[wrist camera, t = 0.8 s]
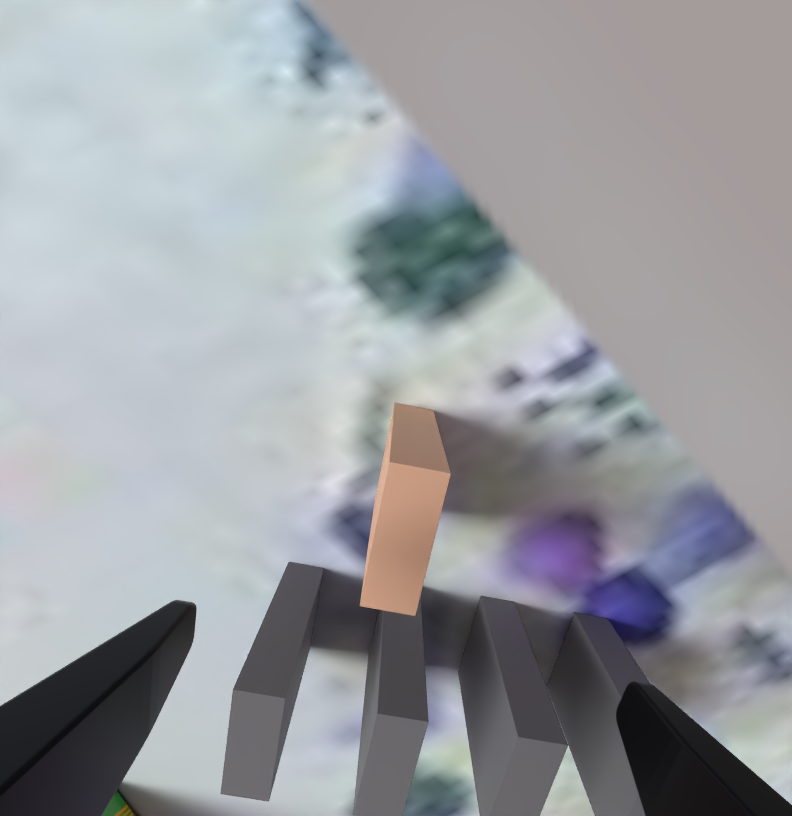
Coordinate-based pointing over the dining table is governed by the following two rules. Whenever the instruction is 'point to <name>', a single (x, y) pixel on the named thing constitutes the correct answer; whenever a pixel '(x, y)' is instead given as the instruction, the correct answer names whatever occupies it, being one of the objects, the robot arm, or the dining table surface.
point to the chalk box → (117, 807)
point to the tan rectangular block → (405, 511)
